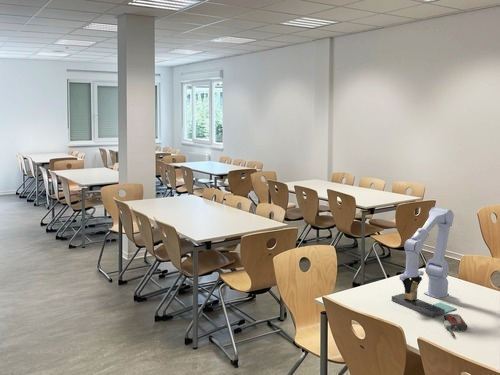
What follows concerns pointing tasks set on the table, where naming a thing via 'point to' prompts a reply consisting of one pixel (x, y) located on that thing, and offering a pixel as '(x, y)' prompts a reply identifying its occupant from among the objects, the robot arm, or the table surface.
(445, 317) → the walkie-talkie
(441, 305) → the teal mat
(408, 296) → the oak peg
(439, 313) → the rack frame
